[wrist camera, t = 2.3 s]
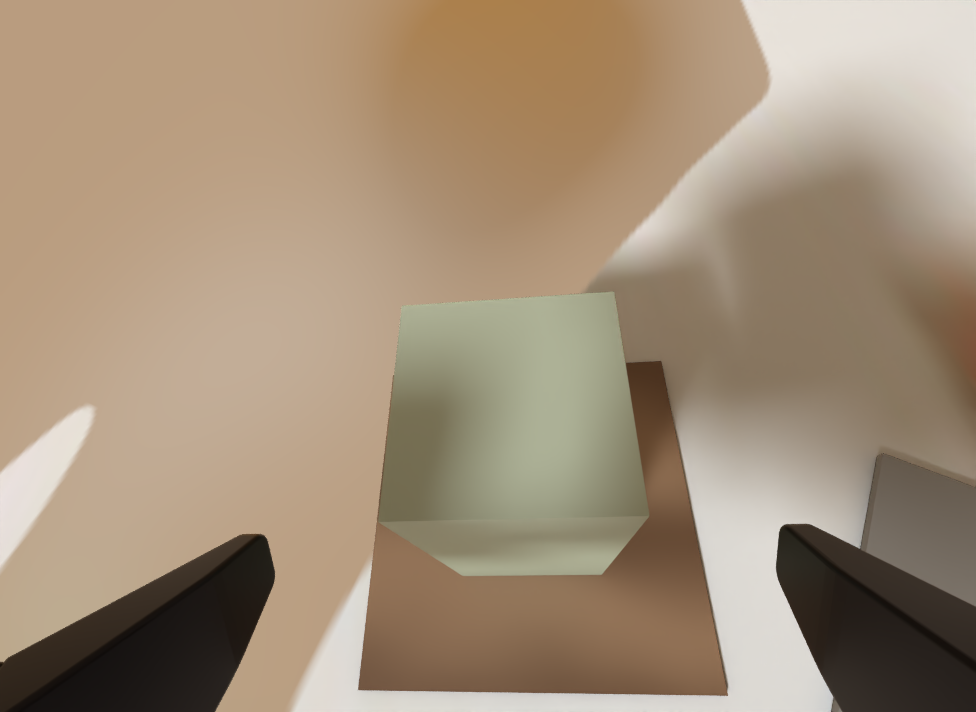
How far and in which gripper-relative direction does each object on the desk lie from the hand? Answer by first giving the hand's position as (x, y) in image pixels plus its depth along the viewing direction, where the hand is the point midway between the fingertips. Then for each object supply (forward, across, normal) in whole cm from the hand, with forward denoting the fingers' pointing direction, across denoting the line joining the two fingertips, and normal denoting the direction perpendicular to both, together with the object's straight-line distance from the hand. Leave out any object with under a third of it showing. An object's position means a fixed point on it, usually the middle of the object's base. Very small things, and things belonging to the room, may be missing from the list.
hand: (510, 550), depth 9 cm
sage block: (+9, 0, +5) cm, 11 cm away
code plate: (+10, 0, +5) cm, 11 cm away
